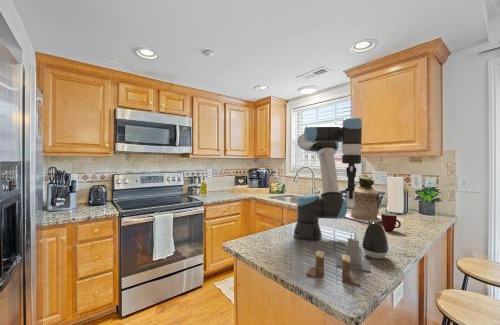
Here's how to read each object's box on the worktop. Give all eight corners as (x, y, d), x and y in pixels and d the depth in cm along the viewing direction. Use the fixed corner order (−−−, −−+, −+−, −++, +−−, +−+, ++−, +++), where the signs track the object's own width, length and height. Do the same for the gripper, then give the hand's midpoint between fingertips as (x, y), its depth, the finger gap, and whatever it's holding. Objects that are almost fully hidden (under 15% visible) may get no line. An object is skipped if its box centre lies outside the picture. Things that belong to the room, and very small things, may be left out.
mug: (402, 231, 142) (402, 215, 142) (399, 234, 136) (399, 217, 136) (383, 228, 149) (383, 212, 149) (379, 230, 144) (379, 214, 144)
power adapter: (358, 266, 92) (358, 235, 92) (344, 261, 96) (345, 232, 96) (361, 264, 94) (361, 234, 94) (348, 259, 98) (348, 231, 98)
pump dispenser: (379, 251, 109) (379, 219, 109) (393, 261, 99) (394, 225, 99) (357, 252, 109) (358, 219, 109) (370, 261, 98) (370, 225, 98)
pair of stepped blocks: (306, 276, 85) (306, 255, 85) (309, 268, 92) (309, 248, 92) (359, 286, 79) (359, 263, 78) (358, 276, 85) (359, 256, 85)
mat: (336, 266, 93) (336, 265, 93) (338, 257, 102) (338, 256, 102) (370, 272, 88) (370, 271, 88) (368, 262, 98) (368, 260, 98)
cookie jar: (369, 224, 158) (369, 177, 158) (339, 217, 179) (339, 175, 179) (390, 220, 170) (391, 176, 170) (360, 213, 191) (360, 174, 191)
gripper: (362, 154, 87) (361, 210, 88) (360, 154, 110) (359, 199, 111) (340, 154, 90) (340, 208, 91) (343, 154, 113) (342, 198, 114)
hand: (350, 203), depth 101 cm, fingers open, 13 cm apart
